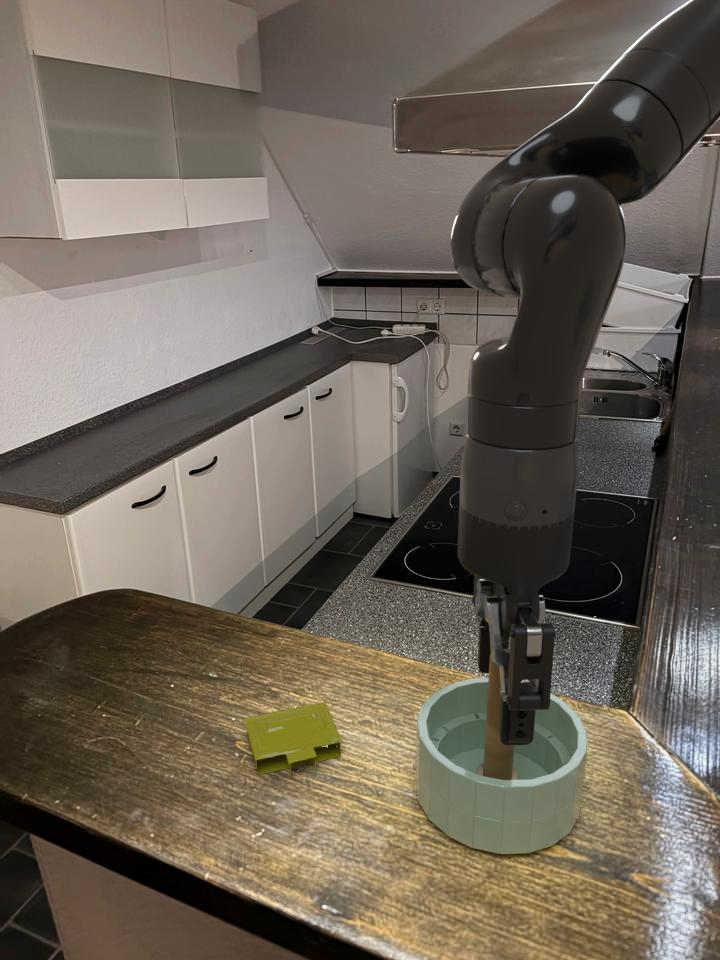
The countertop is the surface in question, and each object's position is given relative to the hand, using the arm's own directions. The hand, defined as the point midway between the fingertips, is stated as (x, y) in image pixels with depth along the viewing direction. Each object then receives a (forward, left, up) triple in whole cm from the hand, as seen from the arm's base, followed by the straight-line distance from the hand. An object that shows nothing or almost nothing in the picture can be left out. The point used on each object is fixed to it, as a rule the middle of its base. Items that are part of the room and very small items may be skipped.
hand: (502, 703), depth 56 cm
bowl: (0, 0, -9) cm, 9 cm away
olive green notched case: (+16, -6, -9) cm, 19 cm away
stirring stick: (0, 0, -8) cm, 8 cm away
